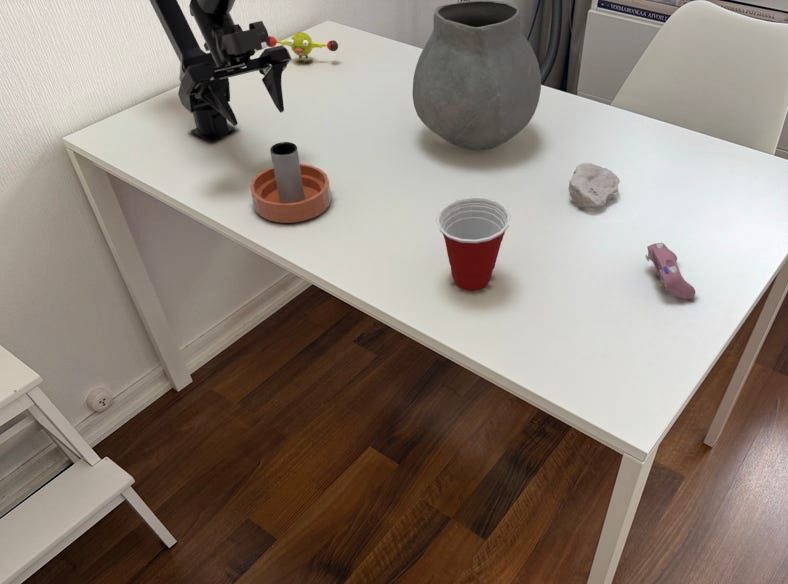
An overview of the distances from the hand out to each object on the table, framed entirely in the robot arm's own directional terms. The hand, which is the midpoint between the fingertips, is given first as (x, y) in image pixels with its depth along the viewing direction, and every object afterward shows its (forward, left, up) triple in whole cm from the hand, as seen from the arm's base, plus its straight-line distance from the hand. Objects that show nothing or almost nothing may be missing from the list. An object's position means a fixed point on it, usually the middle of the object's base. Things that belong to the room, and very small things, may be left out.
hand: (259, 118), depth 116 cm
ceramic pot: (+21, +37, -13) cm, 44 cm away
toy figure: (-34, +44, -13) cm, 57 cm away
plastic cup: (+46, -1, -13) cm, 47 cm away
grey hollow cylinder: (+8, -2, -13) cm, 15 cm away
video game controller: (+71, +17, -13) cm, 74 cm away
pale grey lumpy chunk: (+50, +32, -13) cm, 60 cm away
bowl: (+8, -2, -13) cm, 15 cm away
